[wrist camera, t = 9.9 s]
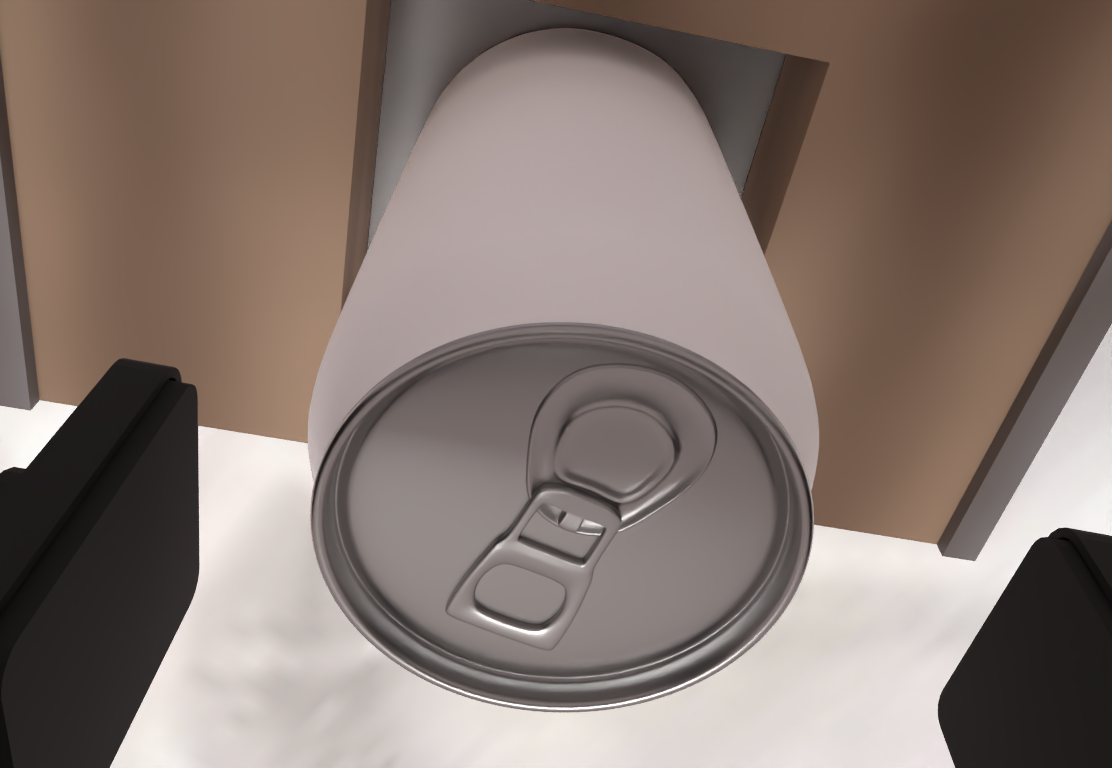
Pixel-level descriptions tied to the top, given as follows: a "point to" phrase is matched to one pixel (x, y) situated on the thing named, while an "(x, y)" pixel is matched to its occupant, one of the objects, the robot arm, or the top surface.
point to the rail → (768, 197)
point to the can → (564, 395)
